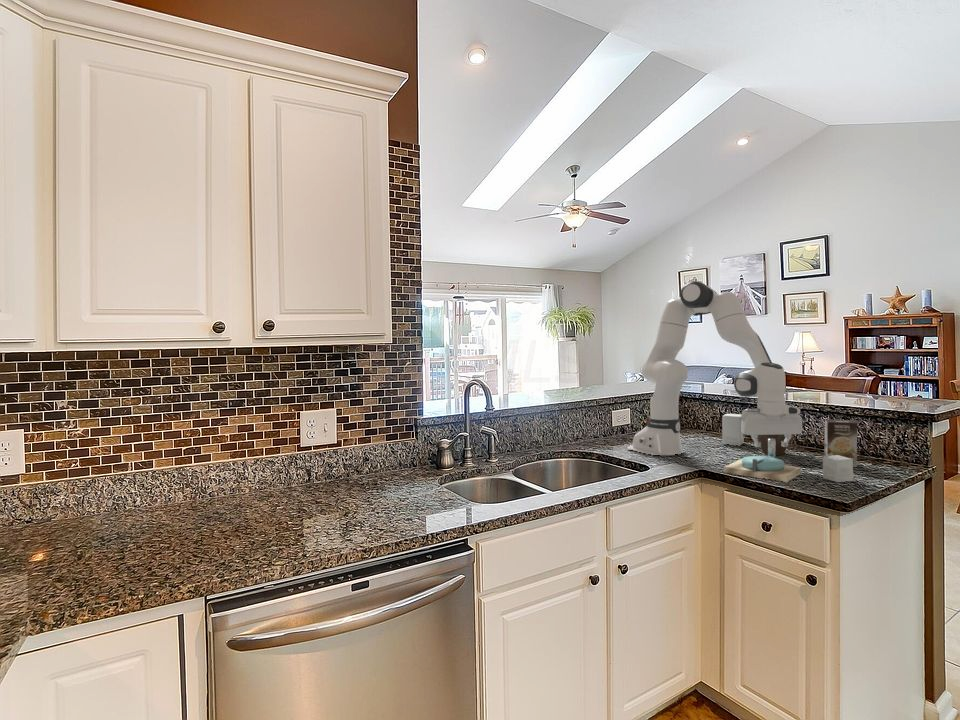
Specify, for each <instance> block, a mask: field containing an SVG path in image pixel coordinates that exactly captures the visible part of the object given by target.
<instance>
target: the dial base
mask: <svg viewBox="0 0 960 720" xmlns="http://www.w3.org/2000/svg"><path fill="white" fill-rule="evenodd" d="M723 468H724V473H726V474H732V475H739V476H743V475H744V476H745V477H751V478H756V477H757V479H762V478H765V479H764V480H768V479H771V480H770V481H775V480H776V482H781V481H783V482H782V483H789V482H790V481H791V480H793V479H794V477H795V478H796V477H798V476H799V475H801V474H802V468H801V467H800V466H792V465H785V464H784V469H782V470H777V471H761V470H757V459H753V469H749V468H746V467H744V466H742V458H740V459H737V460H736V461H733V462H732V463H729V464H727V465H725V466H724V467H723ZM797 475H798V476H797ZM744 476H743V477H744ZM789 480H790V481H789Z"/></svg>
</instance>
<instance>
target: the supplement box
mask: <svg viewBox="0 0 960 720" xmlns="http://www.w3.org/2000/svg"><path fill="white" fill-rule="evenodd" d="M741 414H742V413H739V414H738V413H725V414H724V415H722V420H721V422H722V423H721V424H722V426H721V427H722V429H721V430H722V432H721V433H722V435H721V436H722V437H721V438H722V445H726V444H729V445H728V446H736V445H738V446H741V445H742V444H744V442H745V441H744V435H745V434H743V433H742V432H741V423H742V418H741ZM738 446H737V447H738Z"/></svg>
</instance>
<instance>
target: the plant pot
mask: <svg viewBox="0 0 960 720" xmlns="http://www.w3.org/2000/svg"><path fill="white" fill-rule="evenodd" d="M768 439H775V443H776V456H782V455H784V454H785V452H786V450H787V449H788V447H783V446H781V444H782V443H781V441H784V439H785V436H784V434H782V435H758V438H757V440H758V442H761V447H760V449H761V451H762V453H763V454H764V455H768ZM789 443H790V441H789V442H788V444H789Z"/></svg>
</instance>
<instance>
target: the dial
mask: <svg viewBox="0 0 960 720" xmlns="http://www.w3.org/2000/svg"><path fill="white" fill-rule="evenodd" d="M776 456H777V455H776V443H775V439H768V454H767V456H765V455H764V456H762V455H752V456H745V457H742V458H741V459H742V466H744V467H746V468H749V469H753V459H757V470H761V471H777V470H782V469H784V465H785V461H784V460H783V459H780V458H777V457H776Z"/></svg>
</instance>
